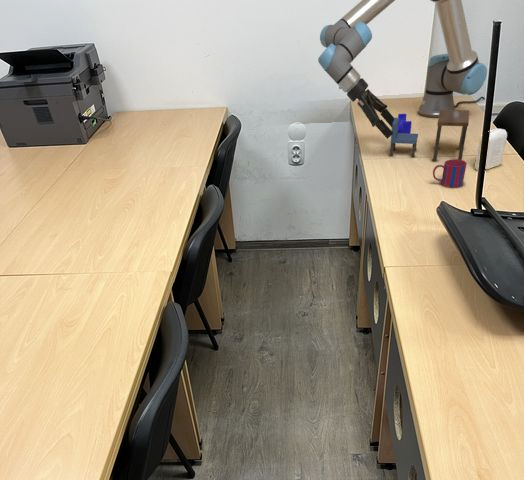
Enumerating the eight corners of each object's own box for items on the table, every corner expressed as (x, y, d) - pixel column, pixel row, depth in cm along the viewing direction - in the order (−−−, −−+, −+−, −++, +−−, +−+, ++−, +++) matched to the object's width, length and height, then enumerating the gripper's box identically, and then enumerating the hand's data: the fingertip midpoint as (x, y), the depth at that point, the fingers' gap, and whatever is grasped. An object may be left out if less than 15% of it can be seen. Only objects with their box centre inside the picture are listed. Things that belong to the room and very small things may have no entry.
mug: (464, 187, 167) (468, 166, 163) (432, 187, 169) (435, 166, 164) (461, 179, 172) (464, 158, 168) (429, 180, 174) (432, 159, 170)
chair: (389, 156, 194) (392, 124, 186) (391, 149, 199) (394, 117, 192) (414, 157, 191) (418, 124, 184) (416, 150, 197) (420, 118, 190)
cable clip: (393, 129, 218) (394, 114, 214) (404, 128, 218) (405, 113, 214) (398, 138, 209) (399, 122, 205) (409, 137, 208) (411, 122, 205)
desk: (432, 161, 187) (437, 122, 178) (434, 147, 198) (440, 109, 189) (461, 162, 184) (468, 122, 176) (462, 148, 195) (469, 110, 187)
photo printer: (492, 161, 183) (499, 124, 175) (502, 164, 180) (510, 127, 172) (472, 169, 179) (479, 131, 171) (482, 172, 176) (490, 134, 168)
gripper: (351, 85, 198) (388, 127, 203) (339, 102, 179) (380, 148, 185) (366, 69, 193) (404, 113, 198) (355, 86, 175) (396, 133, 180)
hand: (392, 130), depth 191 cm, fingers open, 13 cm apart
